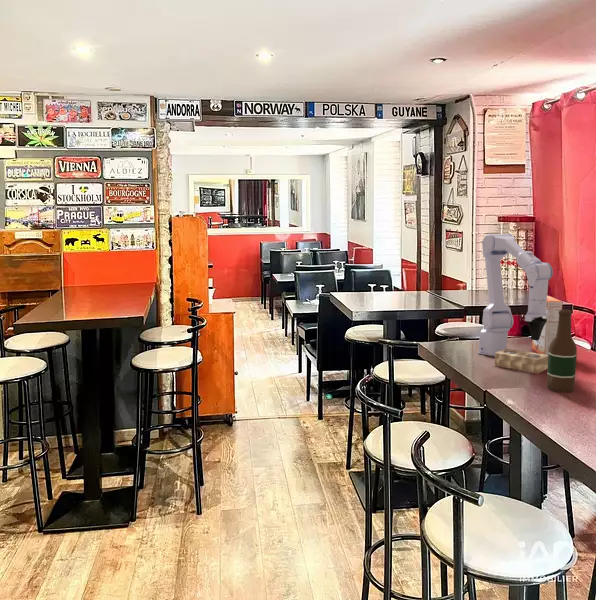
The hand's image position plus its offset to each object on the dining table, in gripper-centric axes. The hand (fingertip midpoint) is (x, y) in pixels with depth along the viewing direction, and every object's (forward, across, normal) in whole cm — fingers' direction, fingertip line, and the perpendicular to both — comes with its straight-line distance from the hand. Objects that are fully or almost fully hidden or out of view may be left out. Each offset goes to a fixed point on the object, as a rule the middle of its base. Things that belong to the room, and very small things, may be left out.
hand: (535, 339), depth 218 cm
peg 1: (+10, -1, +8) cm, 13 cm away
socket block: (+10, 0, +4) cm, 11 cm away
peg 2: (+10, 0, 0) cm, 10 cm away
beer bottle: (+10, -18, -16) cm, 26 cm away
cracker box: (+10, +24, +6) cm, 27 cm away
